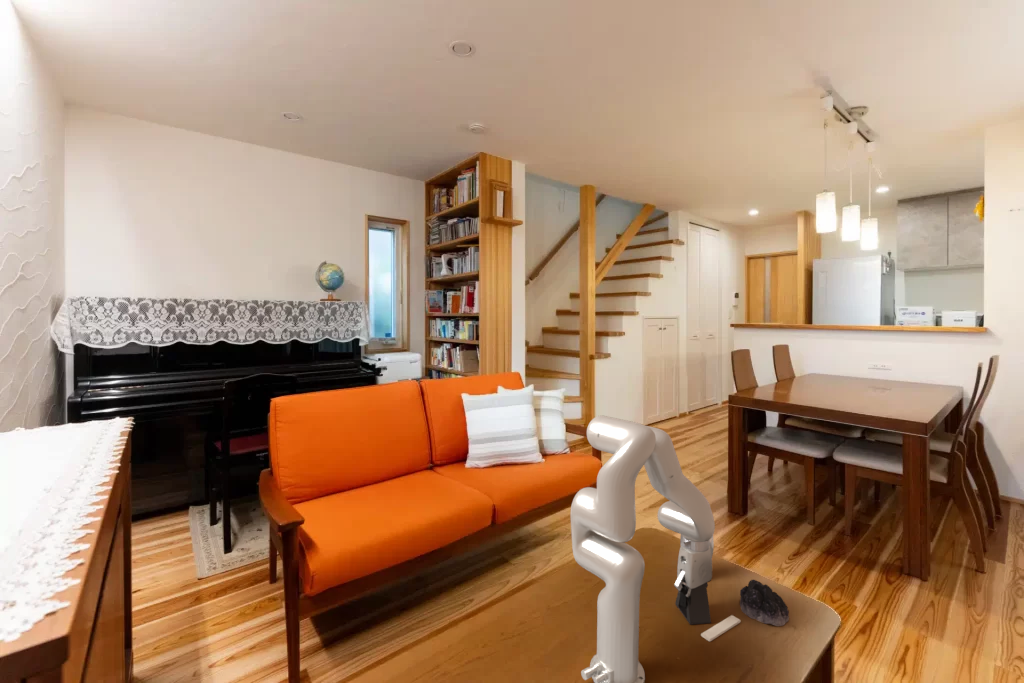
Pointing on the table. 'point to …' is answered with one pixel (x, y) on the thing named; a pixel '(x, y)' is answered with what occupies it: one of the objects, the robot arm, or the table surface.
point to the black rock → (763, 604)
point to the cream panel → (720, 628)
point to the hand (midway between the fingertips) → (692, 603)
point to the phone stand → (696, 606)
